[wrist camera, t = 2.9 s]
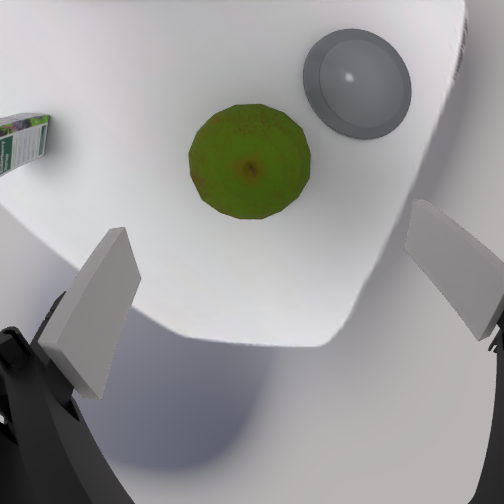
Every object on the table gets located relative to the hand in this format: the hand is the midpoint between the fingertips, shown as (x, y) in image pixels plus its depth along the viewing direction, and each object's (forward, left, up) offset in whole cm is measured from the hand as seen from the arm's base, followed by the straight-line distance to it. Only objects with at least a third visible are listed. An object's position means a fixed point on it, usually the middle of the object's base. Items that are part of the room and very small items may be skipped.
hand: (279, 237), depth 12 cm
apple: (0, 0, -22) cm, 22 cm away
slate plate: (+14, +8, -22) cm, 27 cm away
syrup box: (-28, +8, -22) cm, 37 cm away
